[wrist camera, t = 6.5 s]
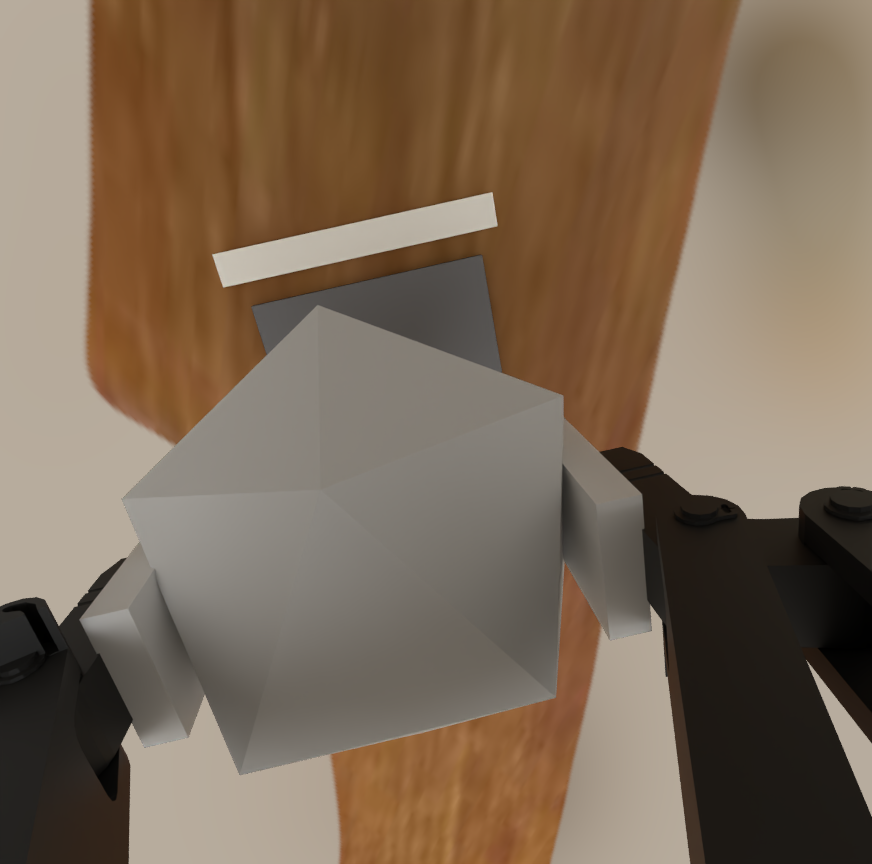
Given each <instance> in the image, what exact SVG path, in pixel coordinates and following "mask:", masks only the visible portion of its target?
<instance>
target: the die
mask: <svg viewBox="0 0 872 864" xmlns="http://www.w3.org/2000/svg"><path fill="white" fill-rule="evenodd" d="M563 449H564V416H563V395H560V394H557V393H555V392H552V391H549V390H547V389H544V388H541V387H539V386H536V385H533V384H530V383H528V382H525V381H522V380H520V379H517V378H514V377H511V376H509V375H506V374H503V373H501V372H498V371H495V370H492V369H490V368H487V367H484V366H482V365H479V364H476V363H473V362H471V361H468V360H465V359H463V358H460V357H457V356H455V355H452V354H449V353H446V352H444V351H441V350H438V349H436V348H433V347H430V346H427V345H425V344H422V343H419V342H417V341H414V340H411V339H408V338H406V337H403V336H400V335H398V334H395V333H392V332H390V331H387V330H384V329H381V328H379V327H376V326H373V325H371V324H368V323H365V322H362V321H360V320H357V319H354V318H352V317H349V316H346V315H343V314H341V313H338V312H335V311H333V310H330V309H327V308H325V307H322V306H319V305H317V306H316V307H315V308H314V309H313V310H312V311H311V312H310V313H309V314H308V315H307V316H306V317H305V318H304V319H303V320H302V321H301V322H300V323H299V324H298V325H297V326H296V327H295V328H294V329H293V330H292V331H291V332H290V333H289V334H288V335H287V336H286V337H285V338H284V339H283V340H282V341H281V342H280V343H279V344H278V345H277V346H276V347H275V348H274V349H273V350H272V351H271V352H270V353H269V354H268V355H267V356H266V357H265V358H264V359H262V360H261V361H260V362H259V363H258V364H257V365H256V366H255V367H254V368H253V369H252V370H251V371H250V372H249V373H248V374H247V375H246V376H245V377H244V378H243V379H242V380H241V381H240V382H239V383H238V384H237V385H236V386H235V387H234V388H233V389H232V390H231V391H230V392H229V393H228V394H227V395H226V396H225V397H224V398H223V399H222V400H221V401H220V402H219V403H218V404H217V405H216V406H215V407H214V408H213V409H212V410H211V411H210V412H209V413H208V414H207V415H206V416H205V417H204V418H203V419H202V420H201V421H200V422H199V423H198V424H197V425H196V426H195V427H194V428H193V429H192V430H191V431H190V432H189V433H188V434H187V435H186V436H185V437H184V438H183V439H182V440H181V441H180V442H179V443H178V444H177V445H176V446H175V447H174V448H173V449H172V450H171V451H170V452H169V453H168V454H167V455H166V456H165V457H163V459H162V460H160V461H159V462H158V463H157V464H156V465H155V466H154V467H153V468H152V469H151V470H150V471H149V472H148V473H147V475H145V476H144V477H143V478H142V479H141V480H140V481H139V482H138V483H137V484H136V485H135V486H134V487H133V488H132V489H131V490H130V491H129V492H128V493H127V494H126V495H125V496H124V497H123V498H122V501H123V504H124V506H125V508H126V511H127V513H128V515H129V518H130V520H131V522H132V525H133V527H134V529H135V531H136V534H137V536H138V538H139V541H140V543H141V546H142V548H143V550H144V553H145V555H146V557H147V560H148V562H149V564H150V567H152V568H155V572H156V578H157V583H158V585H159V588H160V590H161V593H162V595H163V597H164V600H165V602H166V604H167V607H168V609H169V611H170V614H171V616H172V618H173V621H174V623H175V625H176V628H177V630H178V632H179V635H180V637H181V639H182V642H183V644H184V646H185V649H186V651H187V653H188V656H189V658H190V660H191V663H192V665H193V667H194V670H195V672H196V674H197V677H198V679H199V681H200V684H201V686H202V688H203V691H204V693H205V695H206V698H207V700H208V702H209V705H210V707H211V709H212V712H213V714H214V716H215V719H216V721H217V723H218V726H219V728H220V730H221V733H222V735H223V737H224V740H225V742H226V744H227V746H228V749H229V751H230V754H231V756H232V758H233V761H234V763H235V765H236V768H237V770H238V772H239V775H243V774H248V773H252V772H256V771H260V770H265V769H269V768H273V767H277V766H282V765H286V764H290V763H294V762H298V761H303V760H307V759H312V758H316V757H320V756H324V755H329V754H333V753H337V752H342V751H346V750H350V749H354V748H359V747H363V746H367V745H371V744H376V743H380V742H384V741H389V740H393V739H397V738H401V737H406V736H410V735H414V734H418V733H423V732H427V731H431V730H435V729H438V728H442V727H446V726H450V725H454V724H457V723H461V722H465V721H469V720H473V719H476V718H480V717H484V716H488V715H492V714H495V713H499V712H503V711H507V710H511V709H514V708H518V707H522V706H526V705H530V704H533V703H537V702H541V701H545V700H549V699H552V698H556V689H557V673H558V657H559V641H560V625H561V609H562V593H563V577H564V559H563V467H562V463H563Z"/></svg>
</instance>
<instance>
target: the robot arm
mask: <svg viewBox="0 0 872 864" xmlns="http://www.w3.org/2000/svg"><path fill="white" fill-rule="evenodd" d="M562 467H563V559H564V561H565V563H566V565H567V566H568V568H569V570H570V572H571V573H572V575H573V577H574V579H575V580H576V582H577V584H578V586H579V587H580V589H581V591H582V593H583V594H584V596H585V598H586V600H587V601H588V603H589V605H590V606H591V608H592V610H593V612H594V613H595V615H596V617H597V619H598V620H599V622H600V624H601V626H602V627H603V629H604V631H605V633H606V634H607V636H608V638H609V640H615V639H619V638H624V637H628V636H632V635H637V634H641V633H645V632H650V631H652V626H651V612H650V605H651V606H652V607H653V609H654V610H655V611H656V613H657V614H658V615H659V617H660V618H661V619H662V625H663V640H664V656H665V672H666V677H668V683H669V691H670V699H671V707H672V716H673V724H674V732H675V740H676V749H677V757H678V765H679V774H680V782H681V790H682V798H683V807H684V814H685V823H686V831H687V839H688V848H689V856H690V864H872V816H871V814H870V812H869V809H868V807H867V804H866V802H865V800H864V797H863V795H862V792H861V790H860V788H859V785H858V783H857V781H856V778H855V776H854V773H853V771H852V768H851V766H850V764H849V761H848V759H847V757H846V754H845V752H844V749H843V747H842V745H841V742H840V740H839V737H838V735H837V733H836V730H835V728H834V725H833V723H832V721H831V718H830V716H829V713H828V711H827V709H826V706H825V704H824V701H823V699H822V697H821V694H820V692H819V690H818V687H817V685H816V682H815V680H814V677H813V675H812V673H811V671H810V668H809V665H808V663H807V661H808V662H809V664H810V665H811V666H812V667H813V669H814V670H815V671H816V673H817V674H818V675H819V676H820V678H821V679H822V680H823V681H824V683H825V684H826V685H827V687H828V688H829V689H830V690H831V692H832V693H833V694H834V696H835V697H836V698H837V699H838V701H839V702H840V703H841V704H842V706H843V707H844V708H845V709H846V711H847V712H848V713H849V715H850V716H851V717H852V719H853V720H854V721H855V722H856V724H857V725H858V726H859V728H860V729H861V730H862V731H863V733H864V734H865V735H866V736H867V738H868V739H869V740H870V742H871V743H872V491H869V490H866V489H863V488H857V487H853V488H851V487H843V486H841V487H836V488H824V489H819V490H815V491H812V492H809V493H808V494H806V495H805V496H803V497H802V498H801V501H800V505H799V518H785V519H747V517H746V515H745V513H744V512H743V511H742V510H741V508H740V507H739V506H738V505H736V504H734V503H732V502H730V501H728V500H725V499H722V498H717V497H713V496H703V495H691V494H690V493H689V492H687V491H686V490H685V489H684V488H683V487H681V486H680V485H679V484H678V483H677V482H675V481H674V480H673V479H672V478H671V477H669V476H668V475H667V474H664V472H663V471H662V470H661V469H660V468H658V467H657V466H654V463H652V462H651V461H650V460H649V459H648V458H646V457H645V456H644V455H643V454H641V453H638V452H636V451H633V450H630V449H627V448H624V447H620V448H615V449H611V450H606V451H602V452H598V451H597V450H596V449H595V448H594V447H593V446H592V445H591V444H590V443H589V442H588V441H587V440H586V439H585V438H584V437H583V436H582V435H581V434H580V433H579V432H578V431H577V430H576V429H575V428H574V427H573V426H572V425H571V424H570V423H569V422H568V421H567V420H566V419H565V418H564V449H563V463H562ZM806 660H807V661H806ZM204 695H205V693H204V691H203V688H202V686H201V684H200V681H199V679H198V677H197V674H196V672H195V670H194V667H193V665H192V663H191V660H190V658H189V656H188V653H187V651H186V649H185V646H184V644H183V642H182V639H181V637H180V635H179V632H178V630H177V628H176V625H175V623H174V621H173V618H172V616H171V614H170V611H169V609H168V607H167V604H166V602H165V600H164V597H163V595H162V593H161V590H160V588H159V585H158V583H157V578H156V572H155V568H152V567H150V564H149V562H148V560H147V557H146V555H145V553H144V550H143V548H142V546H141V543H140V542H139V543H138V544H137V546H136V547H135V548H134V550H133V551H132V552H131V553H130V555H129V556H128V557H127V558H124V559H121V560H120V561H118V562H117V563H116V564H114V565H113V566H112V567H111V568H109V569H108V570H107V571H105V572H104V573H103V574H101V575H100V577H99V578H98V579H97V580H96V581H95V583H94V584H93V585H92V586H91V588H90V589H89V590H88V593H87V594H85V595H84V596H83V597H82V599H81V600H80V601H79V602H78V606H77V607H74V609H73V610H72V611H71V612H70V614H69V615H68V616H67V617H66V618H65V620H64V621H63V622H62V623H61V625H60V626H58V624H57V622H56V620H55V618H54V616H53V615H52V612H51V611H50V609H49V607H48V605H47V603H46V601H45V600H44V599H41V598H37V597H35V598H26V599H21V600H18V601H14V602H11V603H8V604H5V605H3V606H0V864H128V862H129V807H130V763H129V760H128V757H127V755H126V753H125V751H124V749H123V747H122V745H121V743H122V741H123V738H124V737H125V735H126V733H127V731H128V729H129V727H130V725H131V723H132V724H133V726H134V728H135V730H136V732H137V734H138V736H139V738H140V740H141V742H142V744H143V746H144V747H145V748H146V747H150V746H154V745H158V744H163V743H167V742H171V741H176V740H180V739H184V738H188V737H189V735H190V732H191V729H192V727H193V724H194V721H195V718H196V716H197V713H198V711H199V708H200V705H201V703H202V700H203V697H204Z"/></svg>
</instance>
